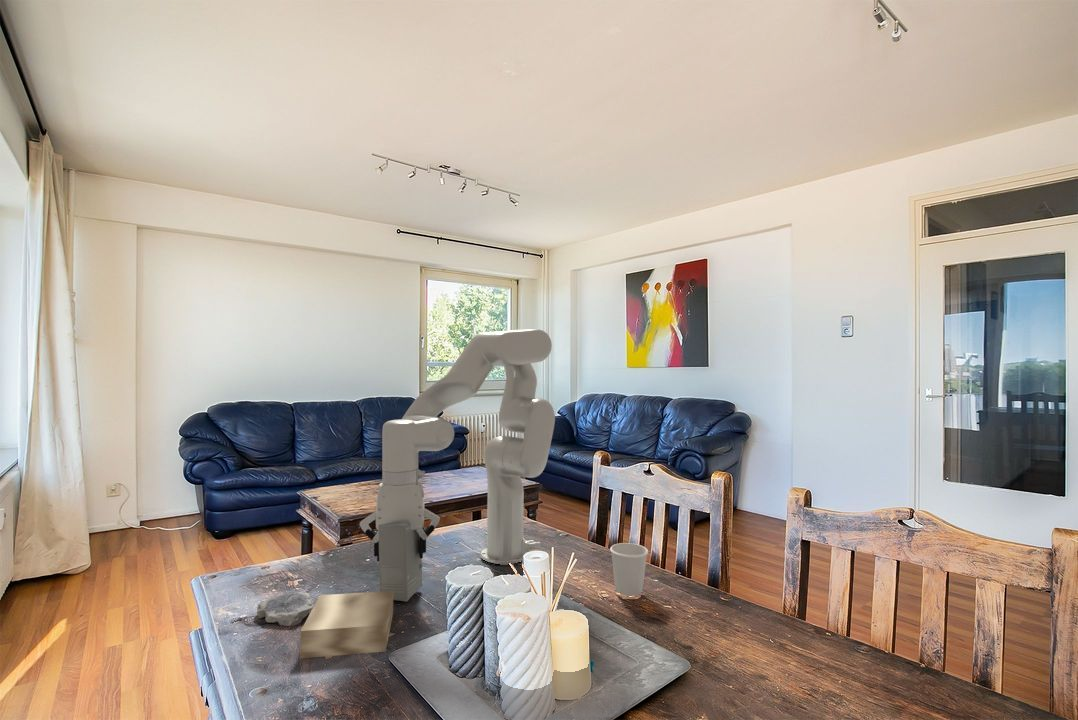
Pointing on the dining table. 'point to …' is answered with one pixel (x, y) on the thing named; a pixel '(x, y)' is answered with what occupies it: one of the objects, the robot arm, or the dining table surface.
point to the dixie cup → (629, 567)
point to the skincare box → (399, 560)
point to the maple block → (347, 624)
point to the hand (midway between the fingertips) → (400, 557)
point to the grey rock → (286, 608)
